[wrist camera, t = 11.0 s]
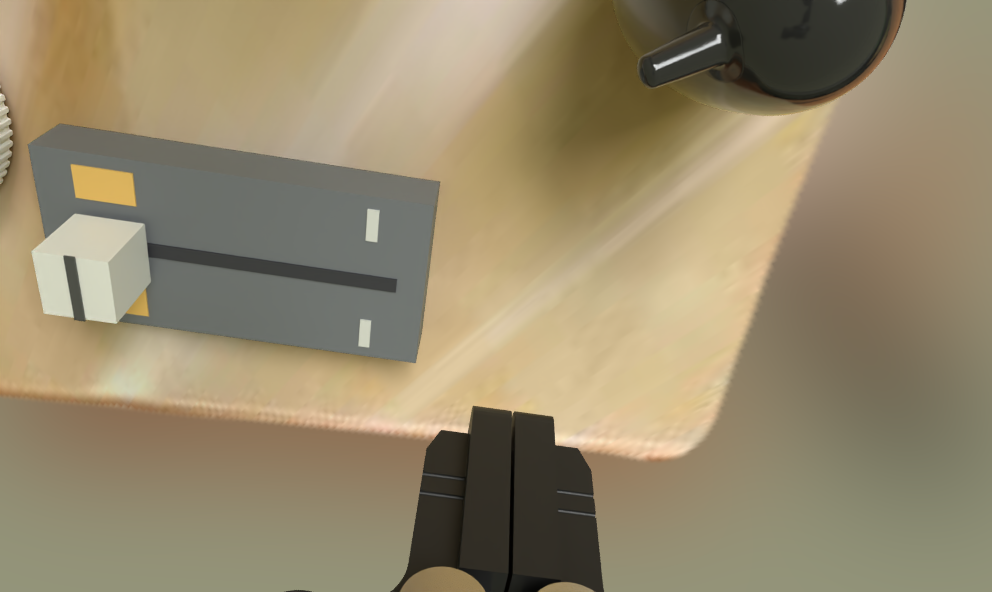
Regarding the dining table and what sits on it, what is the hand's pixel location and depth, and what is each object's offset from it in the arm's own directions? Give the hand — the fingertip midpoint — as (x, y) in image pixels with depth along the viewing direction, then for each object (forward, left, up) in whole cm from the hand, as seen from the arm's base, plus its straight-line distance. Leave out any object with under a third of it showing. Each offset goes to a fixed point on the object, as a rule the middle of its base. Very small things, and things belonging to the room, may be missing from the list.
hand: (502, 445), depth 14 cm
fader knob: (+12, -19, -24) cm, 33 cm away
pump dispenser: (-6, +8, -27) cm, 29 cm away
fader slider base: (+12, -13, -27) cm, 32 cm away
